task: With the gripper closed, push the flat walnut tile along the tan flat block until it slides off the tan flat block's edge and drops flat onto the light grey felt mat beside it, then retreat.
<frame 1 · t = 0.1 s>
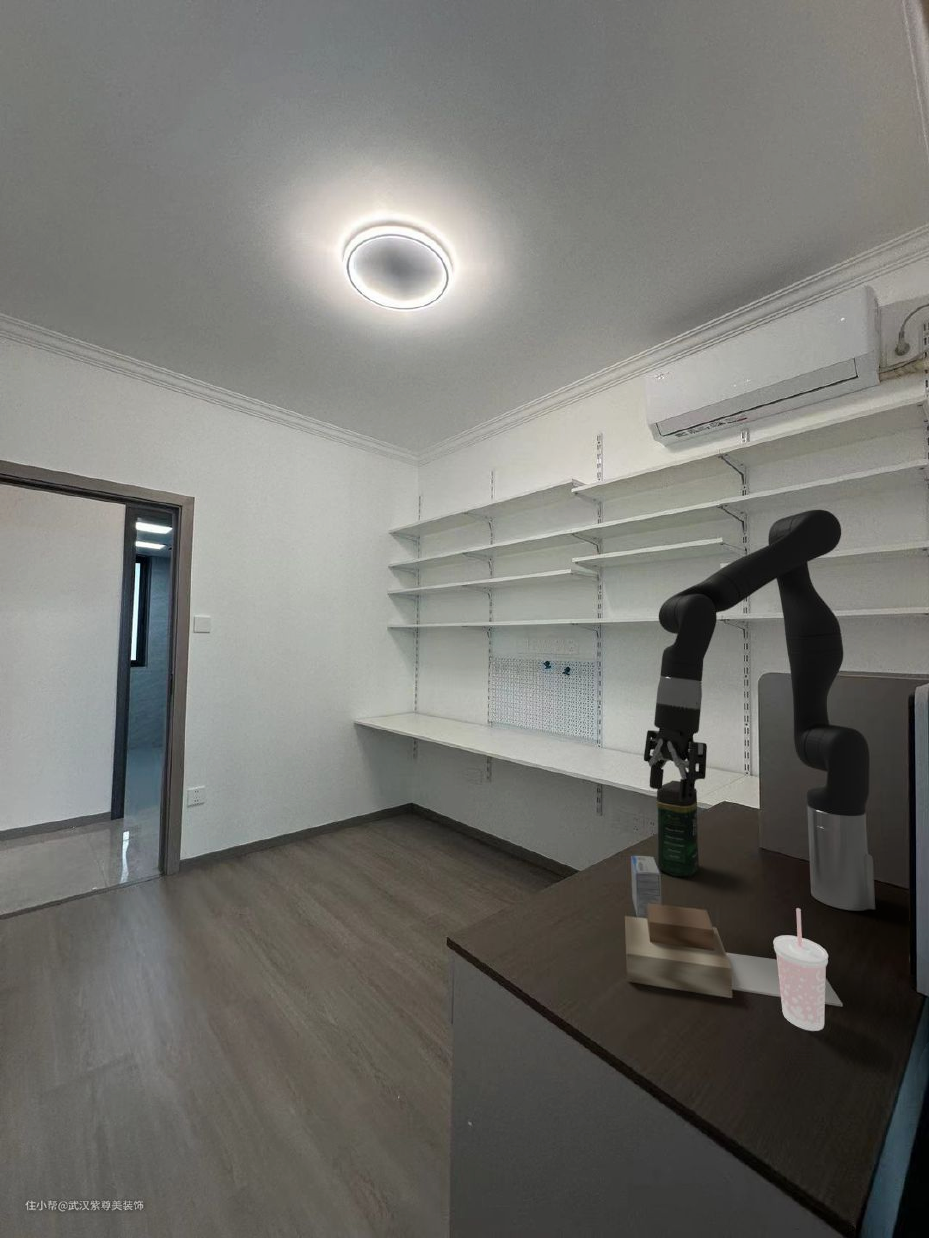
hand: (669, 794, 93), 23 cm above the table, tool pointing down, fingers open, 8 cm apart
beverage cup: (803, 1019, 69), on the table
walnut tile: (679, 935, 81), point 4 cm above the table, touching tan flat block
tan flat block: (674, 966, 80), on the table
mat: (774, 977, 77), on the table
medicine box: (646, 912, 96), on the table
coffee jar: (679, 869, 114), on the table
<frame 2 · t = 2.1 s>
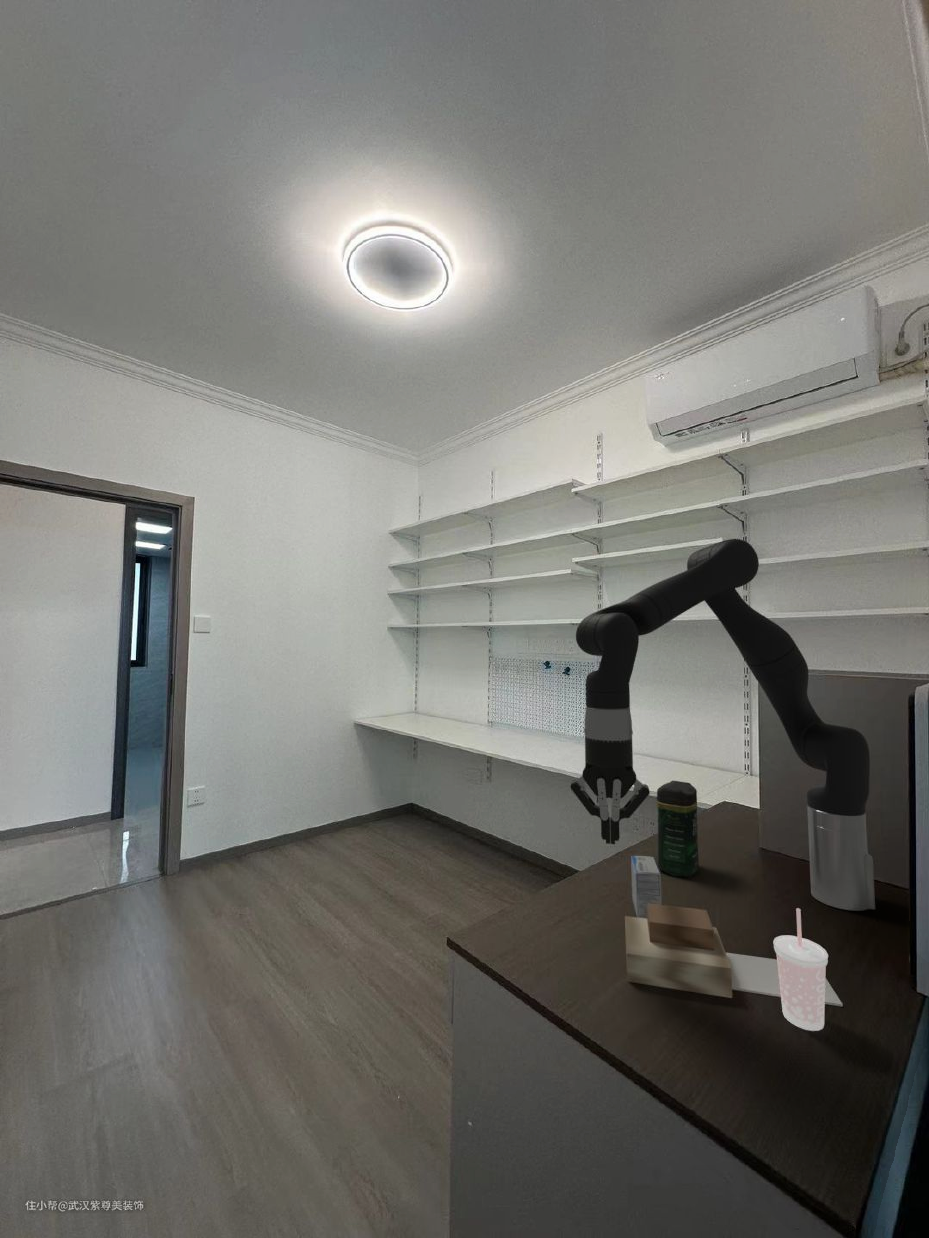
hand: (610, 842, 84), 17 cm above the table, tool pointing down, fingers closed
nothing on the table moved.
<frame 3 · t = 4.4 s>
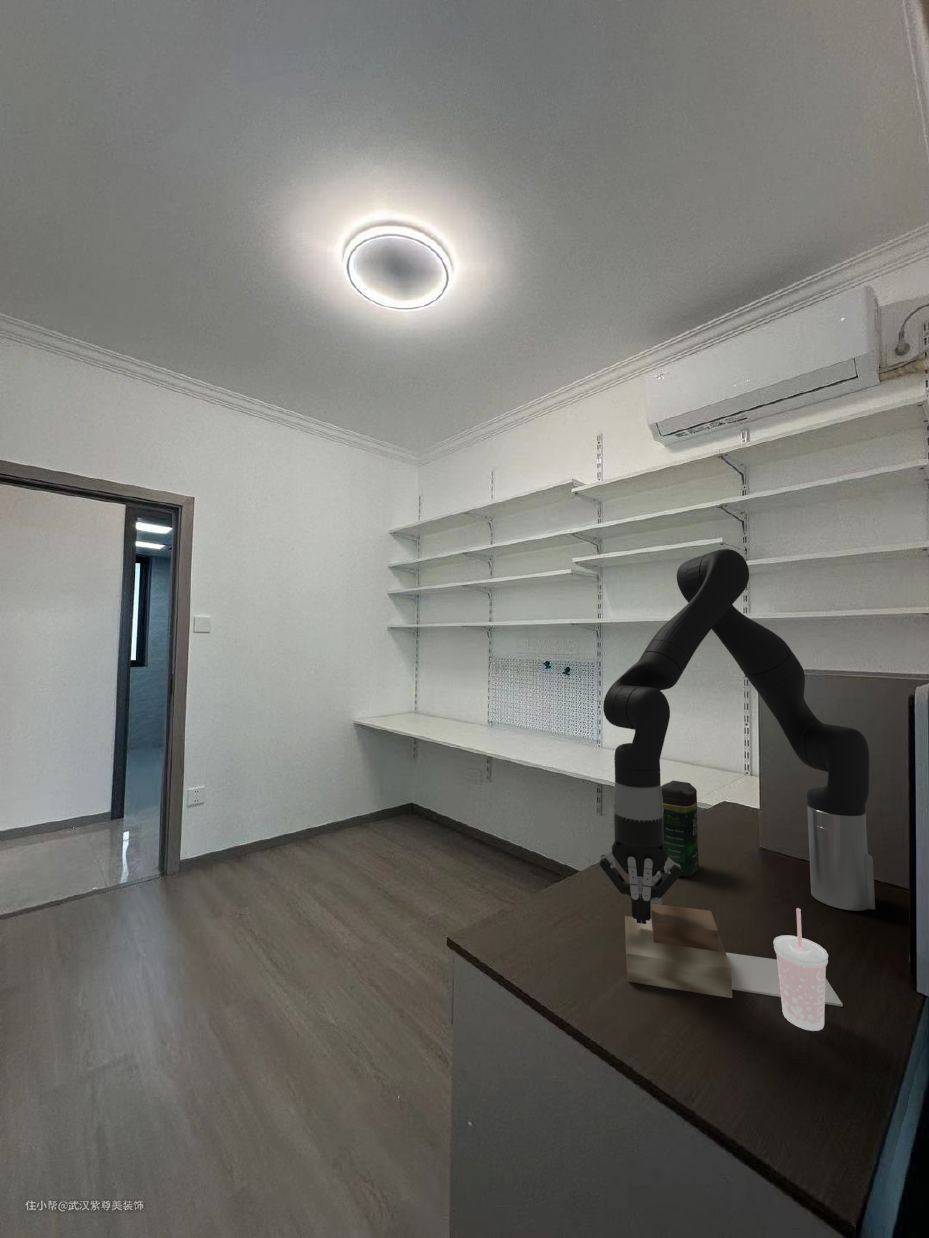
hand: (641, 920, 83), 5 cm above the table, tool pointing down, fingers closed
walnut tile: (683, 936, 81), point 4 cm above the table, touching tan flat block, gripper
everything else where it was.
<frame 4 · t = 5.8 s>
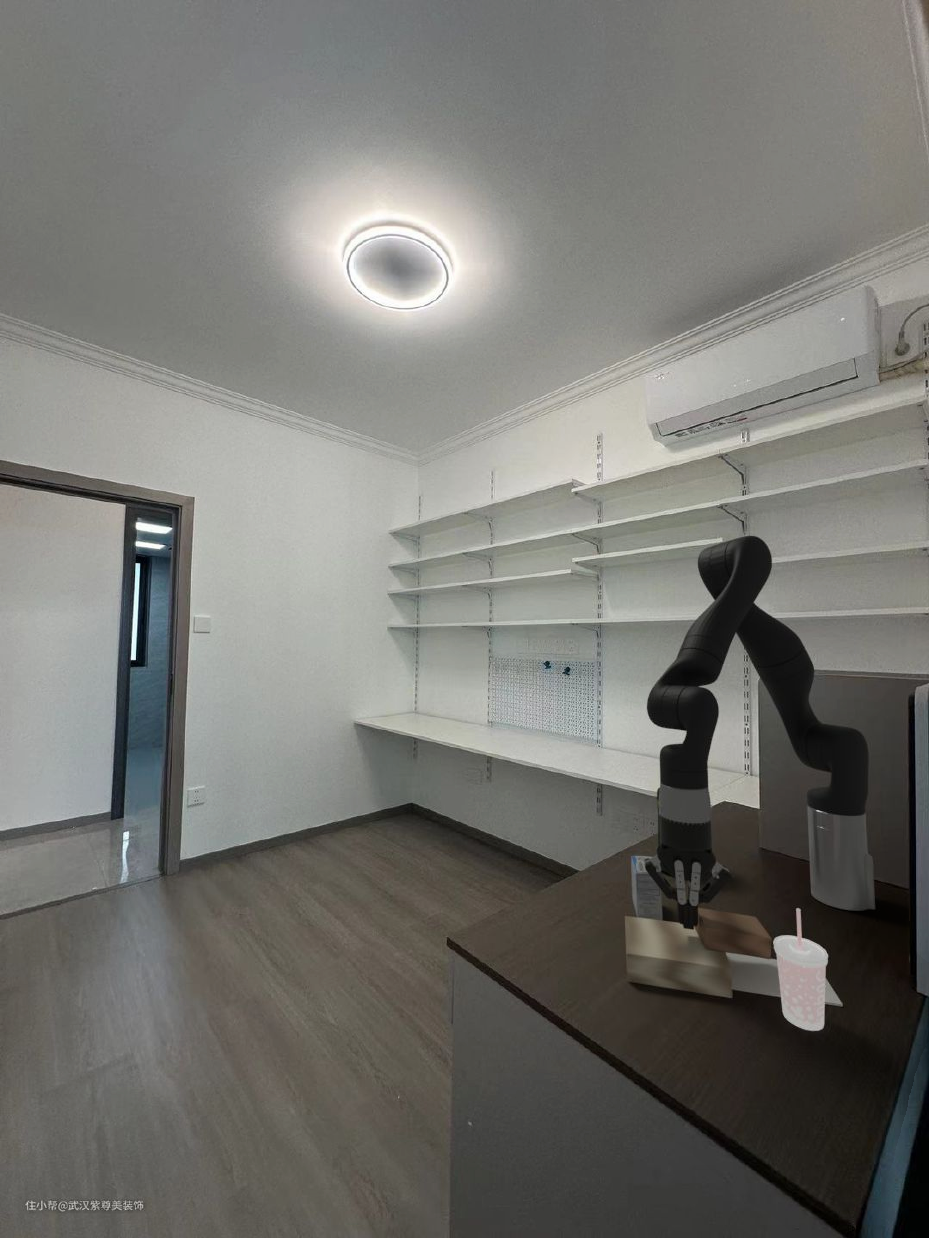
hand: (687, 926, 81), 6 cm above the table, tool pointing down, fingers closed
walnut tile: (730, 941, 79), point 4 cm above the table, tilted 5°, touching tan flat block, gripper
everything else where it was.
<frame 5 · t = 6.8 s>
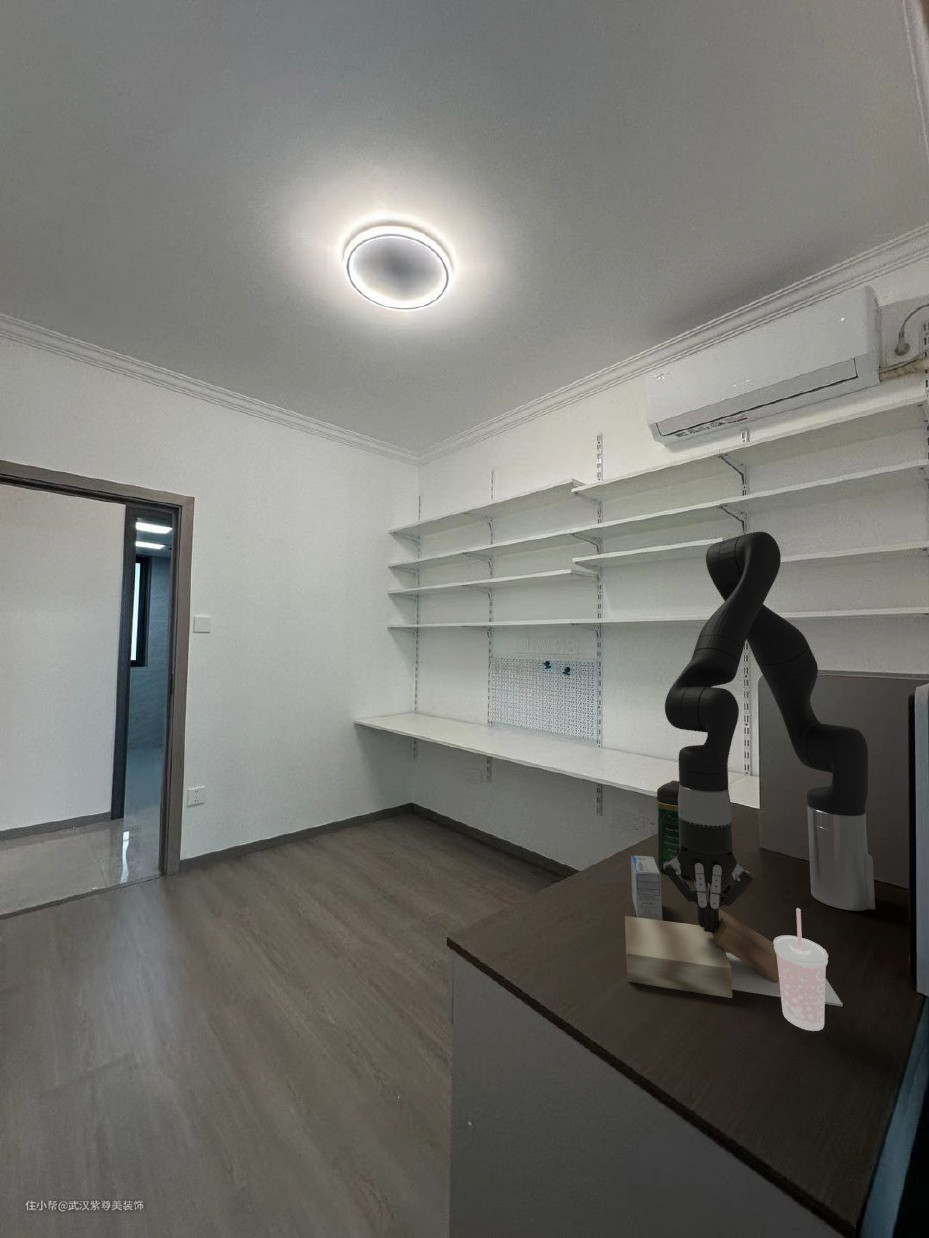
hand: (708, 929, 80), 5 cm above the table, tool pointing down, fingers closed
walnut tile: (740, 951, 79), point 3 cm above the table, tilted 30°, touching gripper, mat
everything else where it was.
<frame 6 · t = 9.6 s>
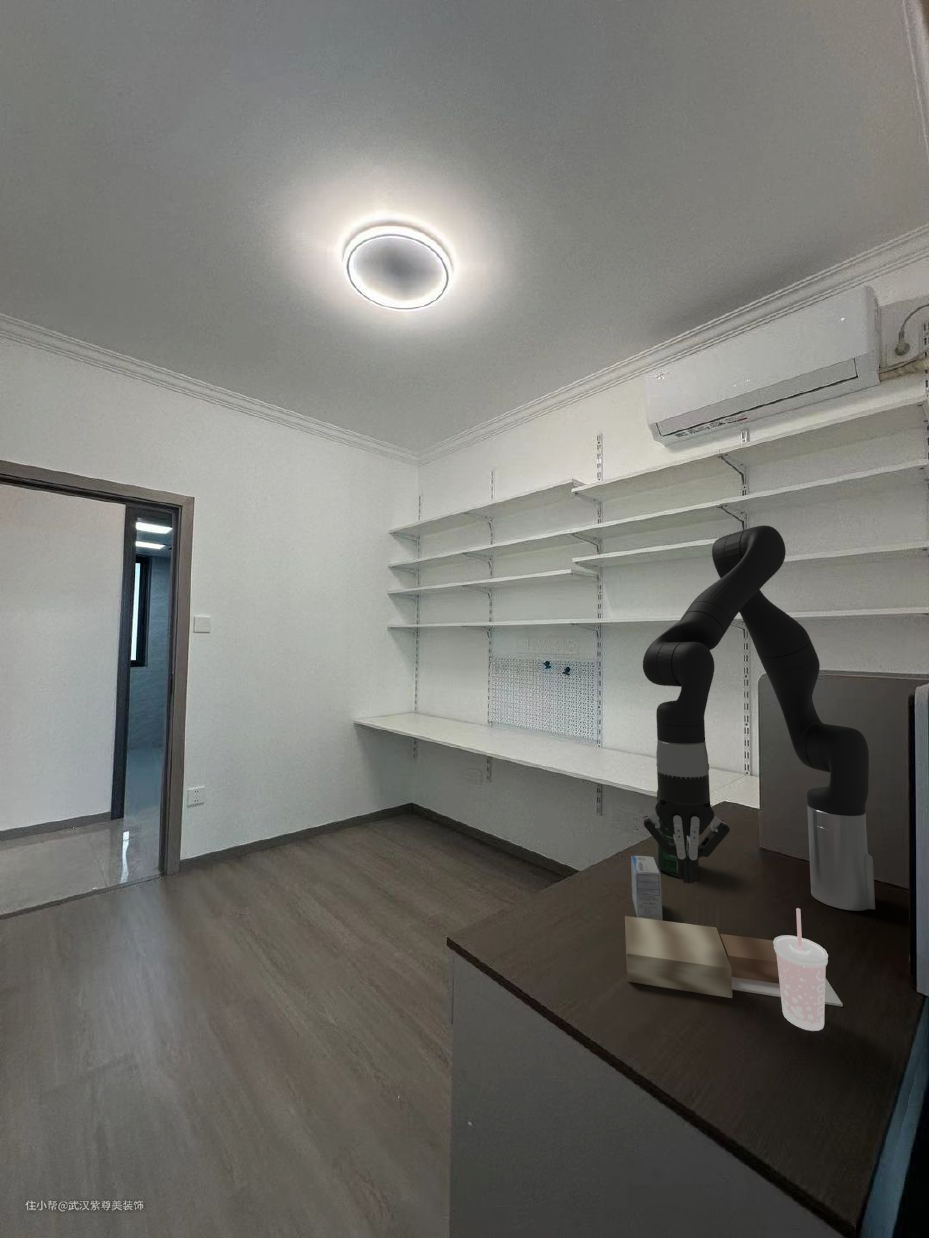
hand: (687, 881, 81), 12 cm above the table, tool pointing down, fingers closed
walnut tile: (757, 968, 78), resting on mat
everything else where it was.
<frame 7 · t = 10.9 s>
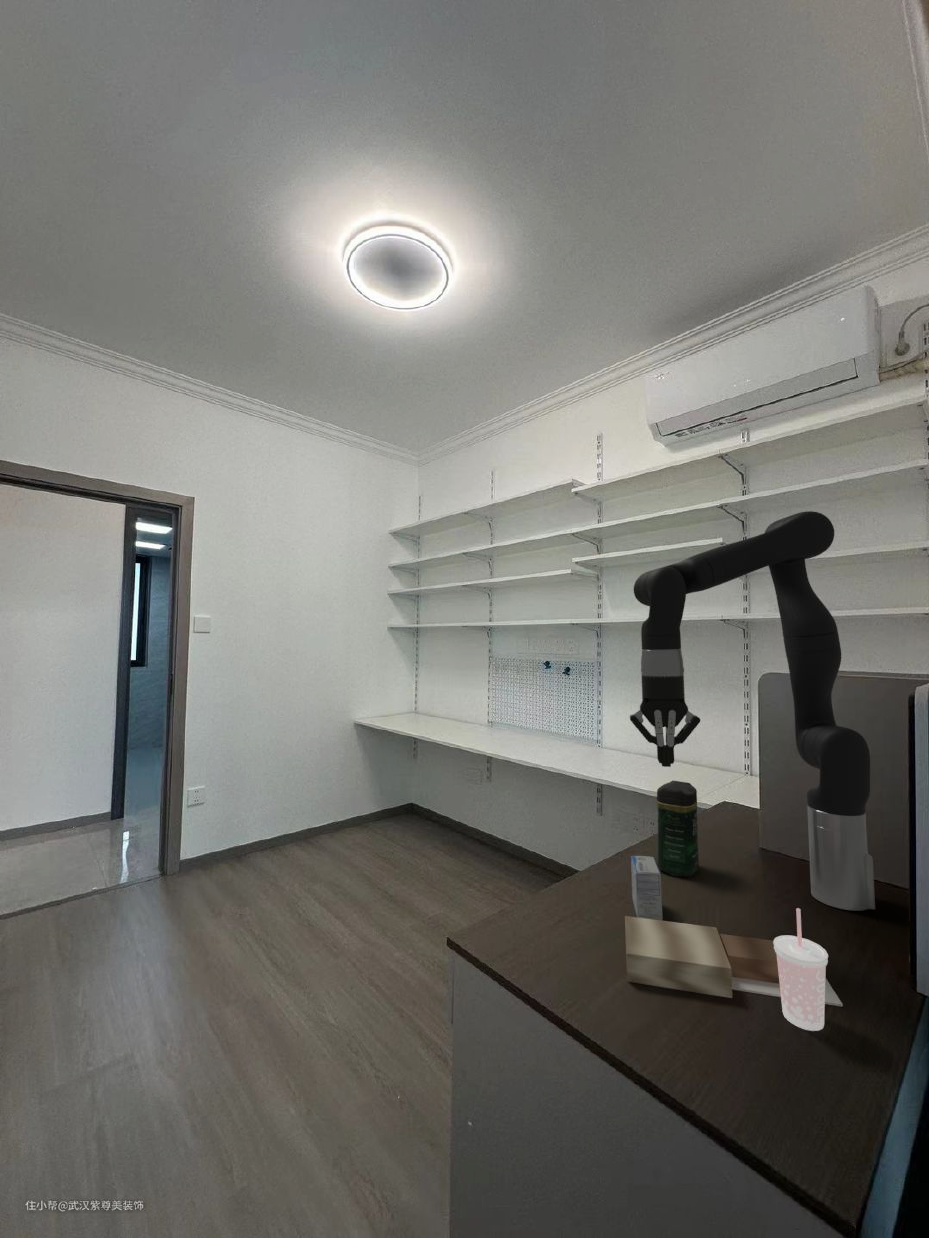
hand: (665, 765, 98), 27 cm above the table, tool pointing down, fingers closed
nothing on the table moved.
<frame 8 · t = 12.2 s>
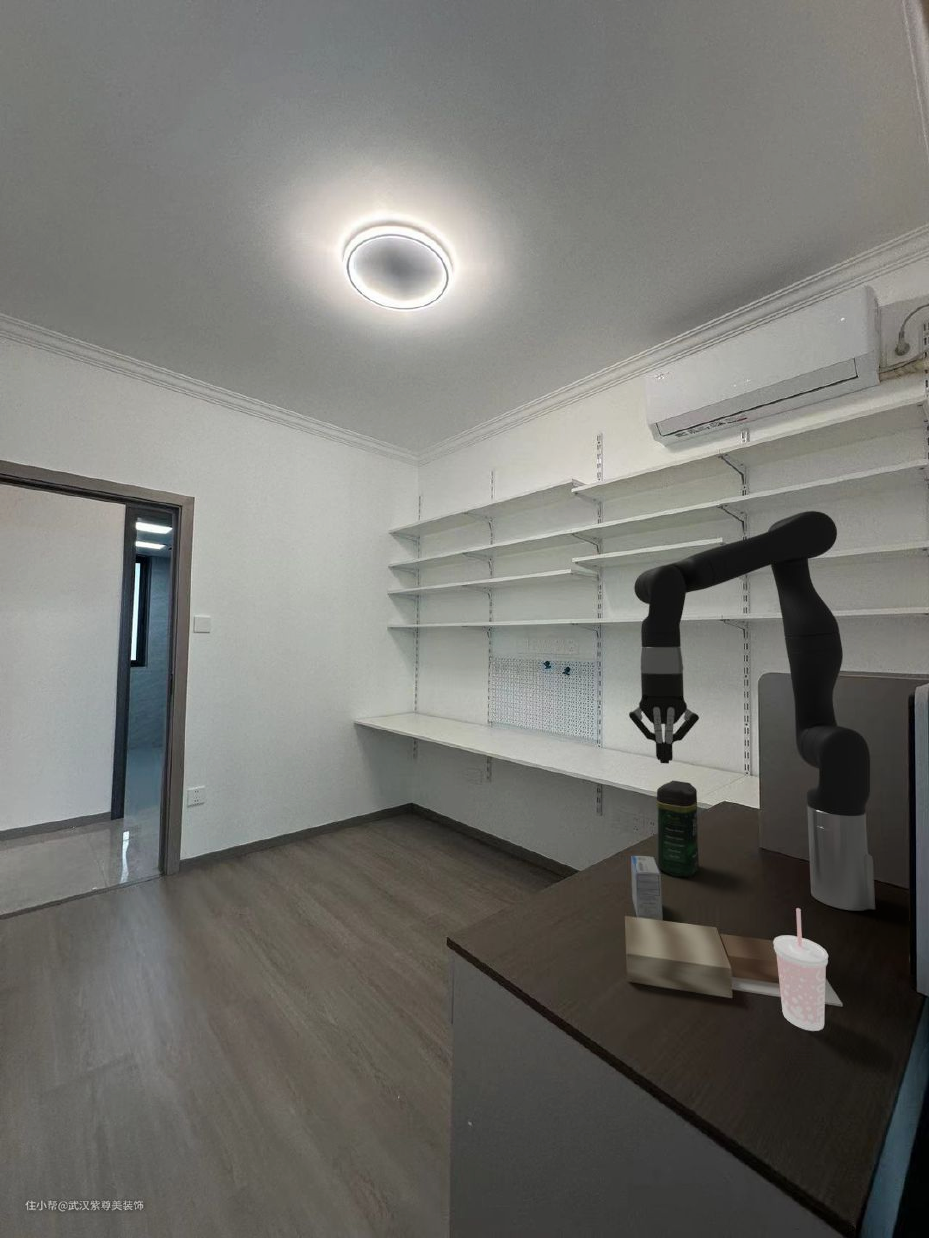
hand: (664, 762, 99), 27 cm above the table, tool pointing down, fingers closed
nothing on the table moved.
at the end: walnut tile resting on mat; walnut tile inside the target area (2.5 cm from its centre), resting on mat; walnut tile touching mat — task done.
